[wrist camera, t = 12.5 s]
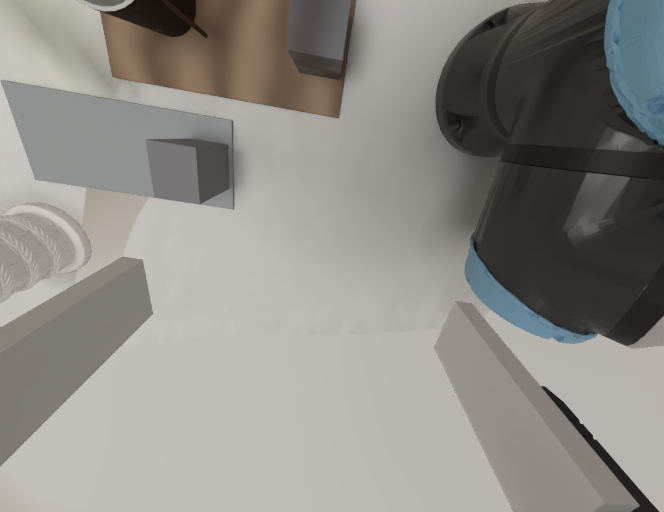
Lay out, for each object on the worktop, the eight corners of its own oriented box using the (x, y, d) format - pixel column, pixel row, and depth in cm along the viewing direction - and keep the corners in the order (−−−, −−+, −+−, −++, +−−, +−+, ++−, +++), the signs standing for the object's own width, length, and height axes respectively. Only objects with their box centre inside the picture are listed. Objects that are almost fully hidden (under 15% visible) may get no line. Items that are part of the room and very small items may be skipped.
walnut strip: (359, -30, 27) (372, -106, 18) (338, 117, 33) (340, 111, 24) (84, -91, 25) (-45, -209, 16) (115, 77, 31) (33, 55, 22)
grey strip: (232, 120, 33) (198, 115, 25) (233, 208, 38) (205, 229, 30) (4, 80, 31) (-119, 60, 23) (38, 179, 36) (-52, 192, 28)
